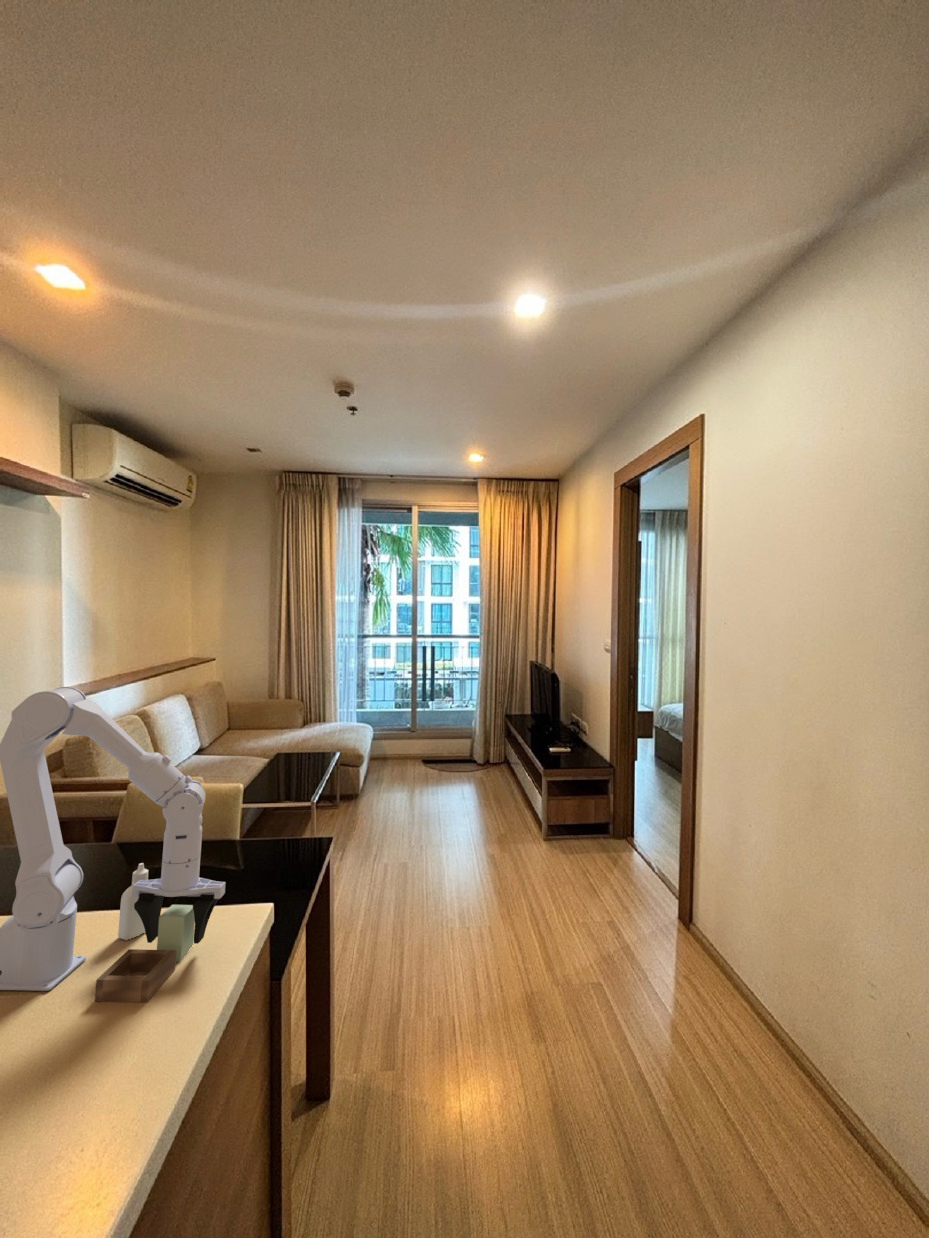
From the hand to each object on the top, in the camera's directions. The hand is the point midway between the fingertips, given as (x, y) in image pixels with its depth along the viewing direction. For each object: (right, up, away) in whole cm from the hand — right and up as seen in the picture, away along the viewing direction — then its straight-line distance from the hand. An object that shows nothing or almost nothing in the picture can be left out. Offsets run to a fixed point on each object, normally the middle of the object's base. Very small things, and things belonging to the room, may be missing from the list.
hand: (175, 939), depth 85 cm
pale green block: (0, -2, 0) cm, 2 cm away
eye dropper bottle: (-10, -2, +5) cm, 12 cm away
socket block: (-1, -2, -8) cm, 8 cm away
